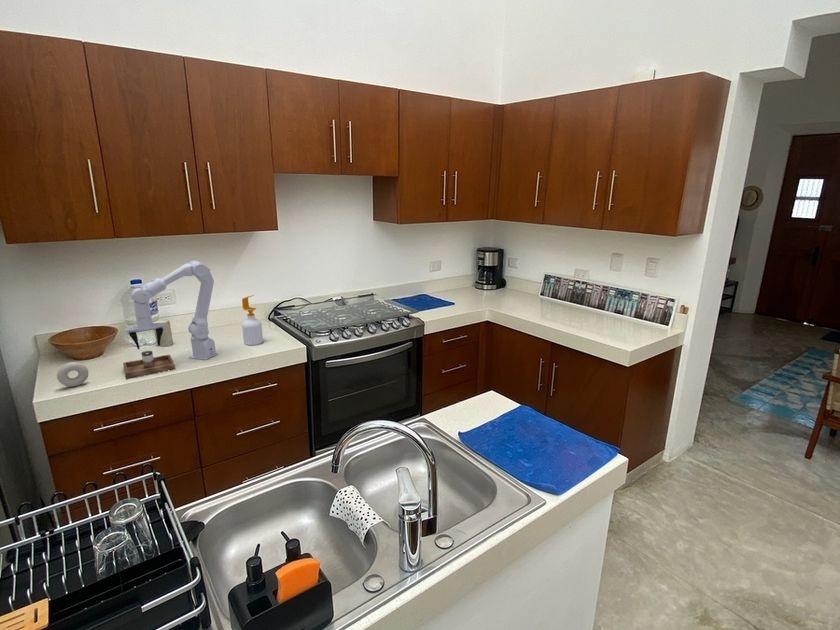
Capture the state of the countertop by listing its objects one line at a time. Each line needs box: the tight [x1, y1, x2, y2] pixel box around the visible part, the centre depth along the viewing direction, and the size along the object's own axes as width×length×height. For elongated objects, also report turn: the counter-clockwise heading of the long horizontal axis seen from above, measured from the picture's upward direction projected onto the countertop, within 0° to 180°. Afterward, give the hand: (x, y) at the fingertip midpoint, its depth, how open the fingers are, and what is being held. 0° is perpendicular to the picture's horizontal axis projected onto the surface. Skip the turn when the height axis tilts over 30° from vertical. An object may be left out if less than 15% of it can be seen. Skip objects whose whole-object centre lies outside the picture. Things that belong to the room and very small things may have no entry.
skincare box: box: [153, 320, 174, 347], centre depth 224 cm, size 6×4×12 cm
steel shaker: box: [141, 350, 155, 369], centre depth 196 cm, size 4×4×7 cm
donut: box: [56, 361, 89, 388], centre depth 178 cm, size 10×3×10 cm, turn 133°
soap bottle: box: [241, 294, 264, 346], centre depth 227 cm, size 9×9×25 cm
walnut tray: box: [122, 354, 176, 380], centre depth 196 cm, size 18×14×2 cm
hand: (148, 346), depth 196 cm, fingers open, 7 cm apart
